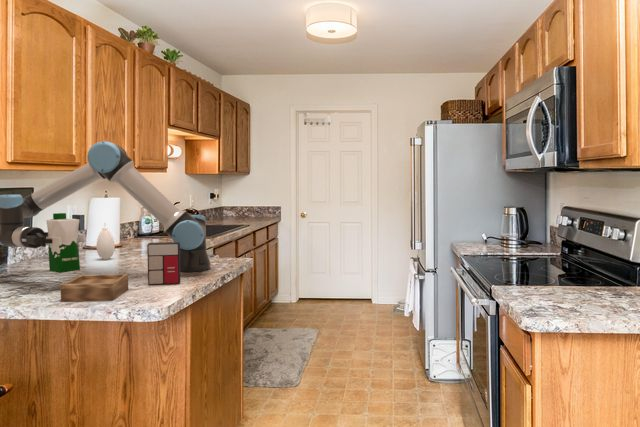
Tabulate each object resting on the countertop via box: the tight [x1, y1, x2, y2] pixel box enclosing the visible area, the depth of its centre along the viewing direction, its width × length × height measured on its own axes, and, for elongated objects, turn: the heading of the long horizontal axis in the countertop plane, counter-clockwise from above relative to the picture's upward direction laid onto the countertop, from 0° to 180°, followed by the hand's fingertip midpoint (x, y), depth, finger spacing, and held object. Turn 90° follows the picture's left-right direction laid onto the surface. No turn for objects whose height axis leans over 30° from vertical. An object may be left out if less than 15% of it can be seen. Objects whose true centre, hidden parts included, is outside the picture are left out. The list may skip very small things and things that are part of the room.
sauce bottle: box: [96, 223, 116, 261], centre depth 224 cm, size 8×8×18 cm
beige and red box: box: [146, 241, 181, 286], centre depth 169 cm, size 11×4×15 cm, turn 101°
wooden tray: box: [60, 274, 129, 302], centre depth 151 cm, size 16×16×5 cm
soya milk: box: [45, 212, 81, 274], centre depth 162 cm, size 9×9×20 cm
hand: (72, 239), depth 160 cm, fingers closed on soya milk, 9 cm apart
